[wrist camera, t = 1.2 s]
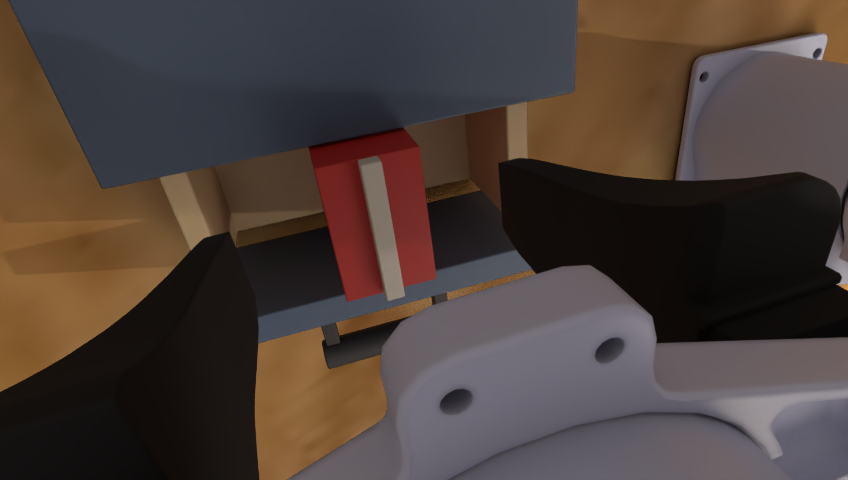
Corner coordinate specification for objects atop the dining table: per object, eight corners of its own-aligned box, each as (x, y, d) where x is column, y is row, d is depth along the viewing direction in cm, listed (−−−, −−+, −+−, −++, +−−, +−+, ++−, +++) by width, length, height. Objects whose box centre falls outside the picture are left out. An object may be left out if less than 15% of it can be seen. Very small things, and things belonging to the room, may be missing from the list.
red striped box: (391, 195, 22) (441, 287, 16) (324, 210, 22) (349, 312, 15) (373, 91, 20) (424, 151, 14) (298, 105, 19) (314, 175, 13)
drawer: (495, 271, 27) (544, 337, 22) (249, 337, 25) (245, 426, 20) (477, -50, 19) (547, -54, 15) (117, 3, 17) (60, 18, 12)
